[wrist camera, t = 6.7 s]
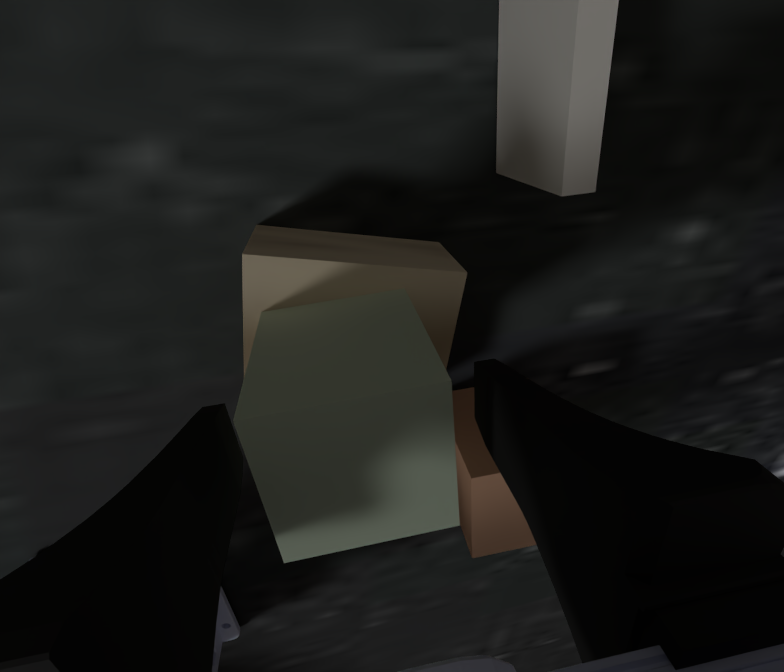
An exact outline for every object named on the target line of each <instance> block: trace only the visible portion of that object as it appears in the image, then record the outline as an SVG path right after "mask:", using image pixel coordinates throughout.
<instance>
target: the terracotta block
mask: <svg viewBox="0 0 784 672" xmlns="http://www.w3.org/2000/svg"><path fill="white" fill-rule="evenodd" d="M527 379H528V378H527ZM452 398H453V415H454V433H455V450H456V468H457V485H458V503H459V521H460V525H461V528H462V531H463V534H464V537H465V539H466V542H467V545H468V548H469V551H470V554H471V556H472V558H476V557H480V556H485V555H490V554H495V553H499V552H504V551H509V550H513V549H518V548H523V547H528V546H532V545H537V544H536V542H535V540H534V537H533V535H532V533H531V530H530V528H529V526H528V523H527V521H526V519H525V517H524V515H523V513H522V511H521V509H520V507H519V505H518V504H517V502H516V500H515V498H514V496H513V495H512V493H511V491H510V489H509V487H508V486H507V484H506V482H505V480H504V478H503V477H502V475H501V473H500V471H499V470H498V468H497V466H496V464H495V462H494V460H493V459H492V457H491V455H490V453H489V451H488V449H487V447H486V446H485V443H484V441H483V438H482V436H481V433H480V430H479V428H478V425H477V422H476V420H475V417H474V387H472V388H466V389H461V390H455V391H452Z"/></svg>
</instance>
